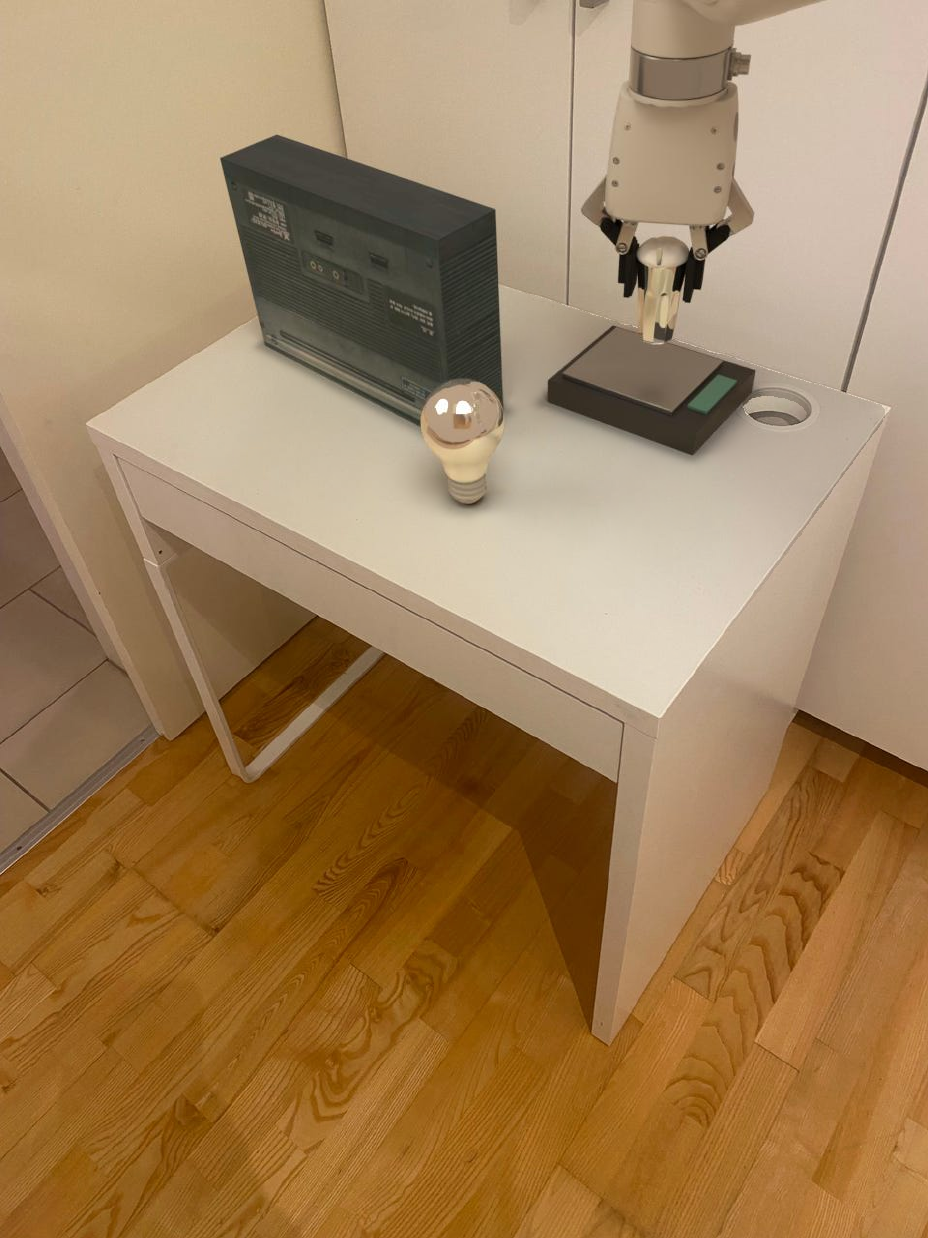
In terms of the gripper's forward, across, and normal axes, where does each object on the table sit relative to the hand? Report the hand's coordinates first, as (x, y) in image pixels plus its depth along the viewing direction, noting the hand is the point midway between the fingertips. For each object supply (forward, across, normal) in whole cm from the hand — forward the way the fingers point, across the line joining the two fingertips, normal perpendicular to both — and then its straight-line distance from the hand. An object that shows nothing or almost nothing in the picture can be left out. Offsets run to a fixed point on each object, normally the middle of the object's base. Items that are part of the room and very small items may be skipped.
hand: (659, 290), depth 86 cm
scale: (+11, 0, 0) cm, 11 cm away
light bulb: (+11, +13, +19) cm, 26 cm away
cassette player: (+11, +28, +2) cm, 30 cm away
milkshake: (+5, 0, 0) cm, 5 cm away
